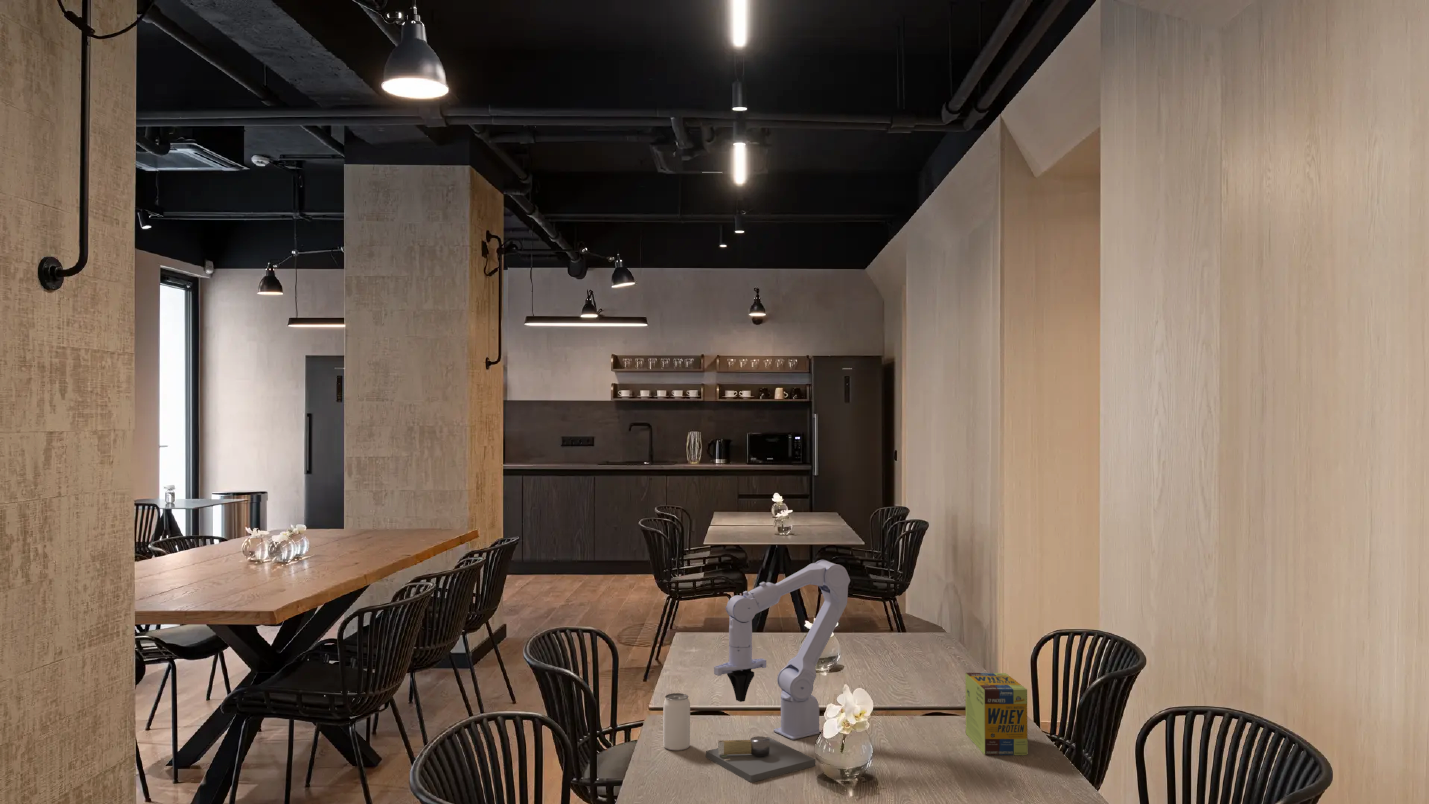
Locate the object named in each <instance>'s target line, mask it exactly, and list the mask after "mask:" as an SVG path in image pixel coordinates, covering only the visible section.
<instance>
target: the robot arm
mask: <svg viewBox="0 0 1429 804" xmlns="http://www.w3.org/2000/svg"><path fill="white" fill-rule="evenodd" d="M850 582H851V579H850V576H849V574H848V571H847V569H846V567H844V566H843V565H841V564H836V563H834V562H831V561H829V560H826V559H820V560H817V561H816V562H812V563H810V564H808V565H807V566H805V567H804V568H802V569H800V570H798V571H797V572H794V573H793V574H791V575H789V576H787V577H785V578H784V579H782V580H780V581H778V582H776V583H773V582H771V581H770V582H769V581H767V582H765V581H761V582H760V583H759V585H758V586H757V587H754V588H753V589H751V590H749V591H747V590H745V591H744V590H743V592H742V595H738V594H737V595H733V596H732V597H730V599H729V600H728V601H727V603H726V606H725V612H726V613H727V615H728V616H729V618H728V619H729V625H728V626H729V627H728V661H727V662H724V663H722V664H719V665H715V666H713V675H714V676H715V675H716V676H718V677H721V676H722V675H726V676H727V677H728V678H729V681H730V683H731V686H732V688H733V691H734V697H735V700H736V702H739V703H742V702H745V701H746V697H747V693H748V690H749V687H750V684H751V683H752V680H753V679H754V677H755V671H754V670H755V669H760V668H762V669H765V668H767V659H764V658H753V619H754V618H755V615H757V614H759V613H760V612H762V611H765V610H767V609H768V608H769V609H770V608H771V607H774V606H775V605H777V604H778V603H779V602H780V600H781V597H782V596H784V595H787V594H789V593H792V592H794V591H796V590H798V589H801V588H803V587H804V588H805V586H808V585H811V586H818V588H819V589H820V590H821V594H822V598H823V600H824V601H823V603H822V605H821V607H820V609H819V611H818V613H817V615H816V616H815V619H814V621H813V623H812V625H811V627H810V628H809V631H808V632H807V634H806V637H805V638H804V640H803V642H802V644H801V645H800V648H799V650H798V651H797V654H796V655H795V656H794V657H792V658H791V659H789V660H788V662H787V664H786V665H785V666H784V667H783V668H781V669H780V671H779V672H778V674H777V678H776V682H777V685H778V687H779V688H780V689H781V693H780V727H777V728H774V729H773V732H774V733H777V734H779V735H782V736H783V737H786V738H788V739H790V740H792V741H793V740H797V739H802V738H806V737H810V736H814V735H818V734H820V733H819V732H820V731H821V730H820V705H819V701H818V699H817V698H816V696H814V695H813V694H812V693H813V691H814V684H815V680H816V678H817V670H816V666H817V664H818V661H819V660H820V657H821V656H822V654H823V652H824V650H825V648H826V647H827V644H828V642H829V640H830V638H831V636H832V634H833V633H834V630H835V629H836V627H837V625H838V623H839V621H840V619H841V617H842V615H843V613H844V611H845V609H846V607H847V604H848V596H849V594H848V593H849V592H848V591H849V585H850Z"/></svg>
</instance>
